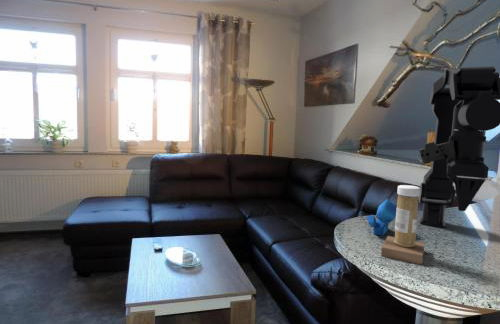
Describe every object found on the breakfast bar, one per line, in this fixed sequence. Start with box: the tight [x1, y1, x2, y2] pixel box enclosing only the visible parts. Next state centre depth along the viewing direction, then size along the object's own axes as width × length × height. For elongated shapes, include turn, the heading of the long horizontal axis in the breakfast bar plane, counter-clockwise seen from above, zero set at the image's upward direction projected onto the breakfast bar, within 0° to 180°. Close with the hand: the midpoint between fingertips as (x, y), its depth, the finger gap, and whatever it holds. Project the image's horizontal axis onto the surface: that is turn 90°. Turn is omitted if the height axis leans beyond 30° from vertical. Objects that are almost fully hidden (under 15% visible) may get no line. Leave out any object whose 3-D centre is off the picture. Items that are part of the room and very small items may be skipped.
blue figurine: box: [365, 198, 397, 237], centre depth 89 cm, size 7×9×12 cm
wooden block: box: [380, 235, 425, 265], centre depth 74 cm, size 9×8×2 cm
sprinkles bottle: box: [394, 184, 420, 247], centre depth 74 cm, size 5×5×13 cm
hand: (460, 206), depth 68 cm, fingers open, 9 cm apart
